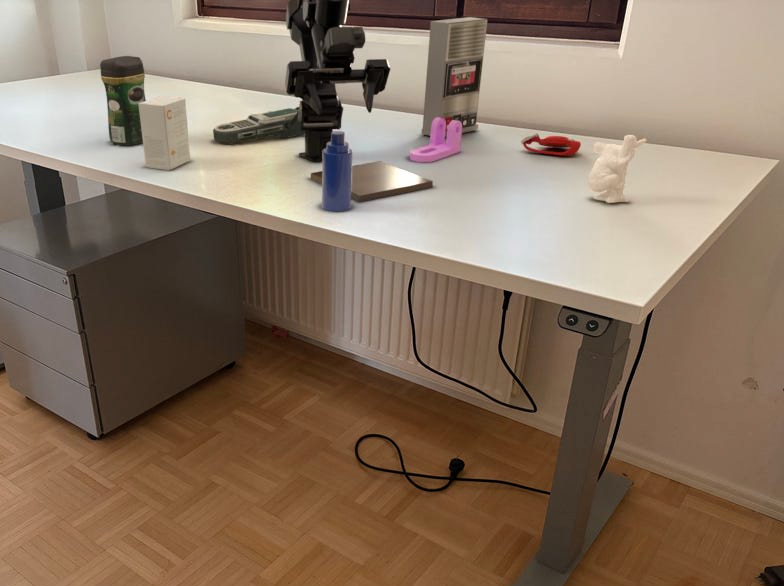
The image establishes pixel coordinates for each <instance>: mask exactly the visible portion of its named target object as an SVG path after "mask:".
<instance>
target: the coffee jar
mask: <svg viewBox="0 0 784 586" xmlns="http://www.w3.org/2000/svg"><path fill="white" fill-rule="evenodd" d="M99 68H100V78H101V81H102V83H103V85H104V89H105V94H106V106H107V123H108V124H107V126H108V127H107V128H108V136H109V137H108V138H109V141H110V142H111V143H113V144H114V145H117V146H123V145H124V146H125V145H127V146H132V145H134V146H135V145H137V144H142V143H143V138H142V130H141V121H140V113H139V105H138V103H141V102H144V101H147V100H146V93H145V77H146V73H145V67H144V63H143V60H142V59H141V57H139V56H133V55H132V56H131V55H121V56H116V57H112V58H107V59H102V60H101V61H100V65H99Z"/></svg>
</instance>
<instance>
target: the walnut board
mask: <svg viewBox="0 0 784 586" xmlns="http://www.w3.org/2000/svg"><path fill="white" fill-rule="evenodd" d="M310 180H312V181H314V182H316V183H318V184H320V185H322V170H321V171H320V170H319V171H315V172H310ZM433 183H434V181H433V180H430V179H428V178H425V177H424V176H420V175H417V174H415V173H412V172H410V171H408V170H405V169H402V168H399V167H397V166H394V165H392V164H389V163H386V162H384V161H383V160H382V161H381V160H377V161H371V162H366V163H360V164H354V165H352V192H351V200H354V201H356V202H359V203H362V202H367V201H372V200H376V199H381V198H386V197H387V198H388V197H392V196H396V195H397V196H398V195H401V194H405V193H406V194H407V193H412V192H416V191H420V190H421V191H422V190H426V189H430V188H433Z"/></svg>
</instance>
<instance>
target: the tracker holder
mask: <svg viewBox="0 0 784 586" xmlns="http://www.w3.org/2000/svg"><path fill="white" fill-rule="evenodd" d="M520 143H521V145H523V147H524V149H526V150H527V151H529V152H532V153H537V154H545V155H554V156H563V157H571V156H573V155H575V154H576V153H578V151H579V150H580V148H581V145H582V144H581V141H578V140H575V139H574V138H569V137H567V136H563V135H549V136H546V137H545V138H541V137H540V135H539V133H535V134H533V135H529V136H526V137H524V138H522V139H521V140H520ZM532 143H537V144H538V145H539V146H542V147H547V148H559V149H560V148H563V149H564V148H565V149H567V150H566V151H563V152H559V151H558V152H557V151H549V150H542V149H541V150H539V149H535V148H533V147H529V146H528V145H531V144H532Z"/></svg>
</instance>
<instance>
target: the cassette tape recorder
mask: <svg viewBox="0 0 784 586" xmlns="http://www.w3.org/2000/svg"><path fill="white" fill-rule="evenodd" d="M488 21H489V20H488V18H482V17H473V16H468V17H460V18H459V17H458V18H451V19H450V18H448V19H440V20H430V24H429V25H430V26H429V27H430V28H429V40H428V51H427V64H426V65H427V66H426V76H425V77H426V78H425V93H424V103H423V104H424V106H423V116H422V117H423V118H422V128H421V133H420V134H422V135H424V136H430V135H431V125H432V122H433V120H434V119H435V118H436V117H439V118H444V119H445V121H446V129H445V138H447V129H448V125H449V123H450V122H451V121H452V120H456V121H460V122H461V123H462V134H464V133H469V132H472V131H473V132H475V131H477V130H478V129H479V124H477V119H478V110H479V109H478V108H479V102H480V101H479V99H480V90H481V83H482V73H483V72H482V71H483V63H484V55H485V45H486V38H487V28H488Z"/></svg>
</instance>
